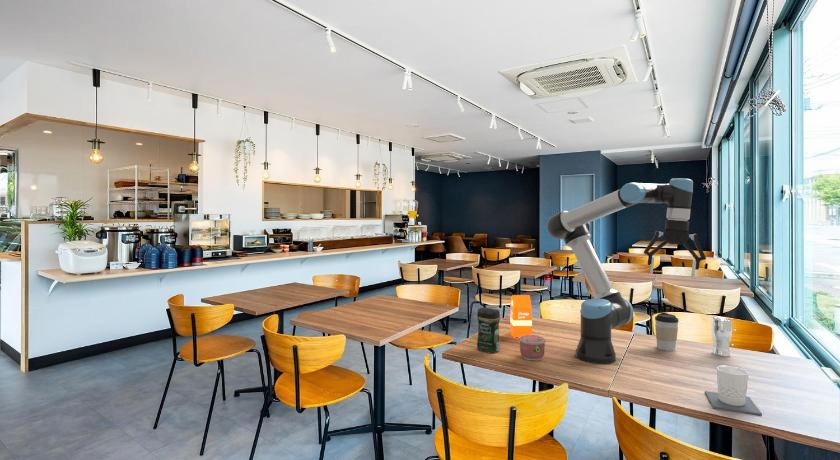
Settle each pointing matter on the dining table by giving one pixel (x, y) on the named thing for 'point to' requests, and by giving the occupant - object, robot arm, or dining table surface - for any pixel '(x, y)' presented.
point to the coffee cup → (666, 331)
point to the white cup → (732, 385)
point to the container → (532, 347)
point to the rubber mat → (717, 404)
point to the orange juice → (520, 316)
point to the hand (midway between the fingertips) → (671, 275)
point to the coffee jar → (488, 330)
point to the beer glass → (721, 335)
